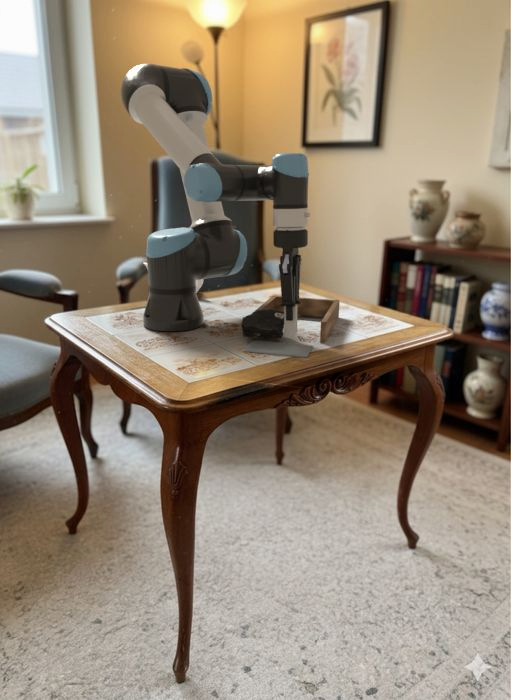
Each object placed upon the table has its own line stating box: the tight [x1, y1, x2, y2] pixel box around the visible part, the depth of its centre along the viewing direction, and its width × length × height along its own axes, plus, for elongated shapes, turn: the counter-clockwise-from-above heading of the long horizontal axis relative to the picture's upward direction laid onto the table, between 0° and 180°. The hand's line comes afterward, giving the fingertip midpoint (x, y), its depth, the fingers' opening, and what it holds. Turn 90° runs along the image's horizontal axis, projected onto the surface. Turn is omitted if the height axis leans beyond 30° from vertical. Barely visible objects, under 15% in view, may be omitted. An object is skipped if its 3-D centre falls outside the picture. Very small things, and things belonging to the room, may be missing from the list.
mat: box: [242, 339, 314, 359], centre depth 119 cm, size 14×8×1 cm, turn 74°
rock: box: [240, 309, 284, 340], centre depth 124 cm, size 8×11×10 cm
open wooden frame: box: [251, 295, 340, 344], centre depth 136 cm, size 18×24×5 cm
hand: (290, 332), depth 124 cm, fingers closed, pressing on rock
